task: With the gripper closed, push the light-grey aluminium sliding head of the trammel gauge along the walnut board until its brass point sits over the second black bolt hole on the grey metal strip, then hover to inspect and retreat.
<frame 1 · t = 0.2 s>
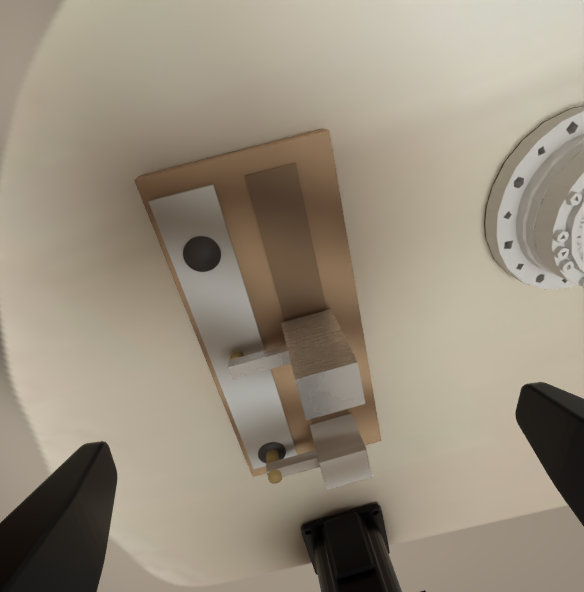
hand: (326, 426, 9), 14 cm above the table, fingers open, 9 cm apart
sliding head: (288, 368, 20), point 4 cm above the table, slide at 0.0 cm
mechanical component: (561, 199, 23), on the table
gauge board: (280, 326, 23), on the table
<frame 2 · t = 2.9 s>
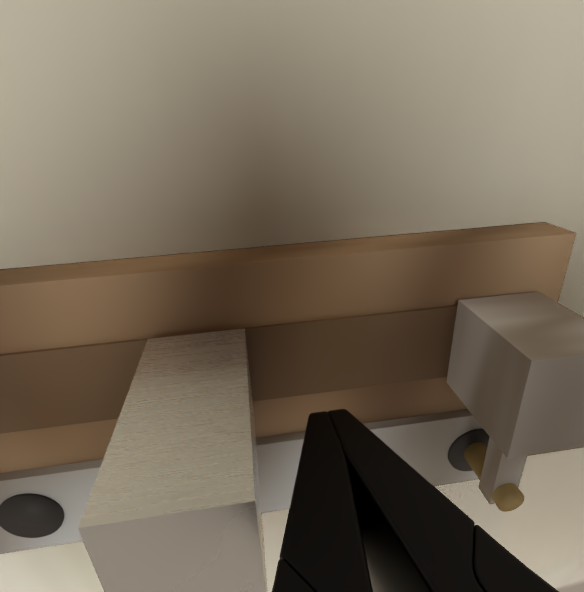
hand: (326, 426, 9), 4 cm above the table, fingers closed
sliding head: (207, 502, 9), point 4 cm above the table, slide at 0.3 cm, touching gripper
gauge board: (224, 385, 13), on the table
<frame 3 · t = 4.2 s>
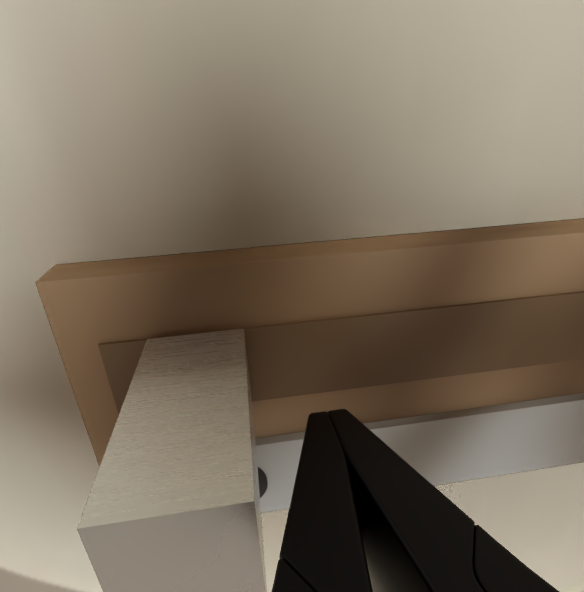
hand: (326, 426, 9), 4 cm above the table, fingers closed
sliding head: (207, 503, 9), point 4 cm above the table, slide at 6.5 cm, touching gripper
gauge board: (409, 363, 13), on the table
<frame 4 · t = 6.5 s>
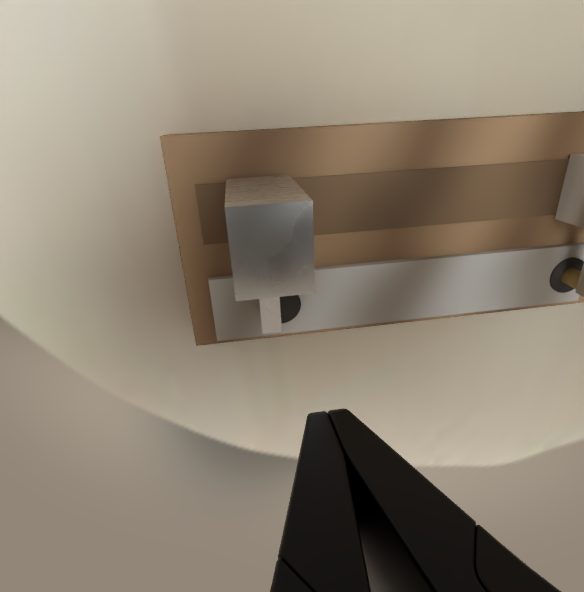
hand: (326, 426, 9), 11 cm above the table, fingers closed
sliding head: (268, 273, 14), point 4 cm above the table, slide at 6.6 cm
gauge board: (400, 226, 19), on the table
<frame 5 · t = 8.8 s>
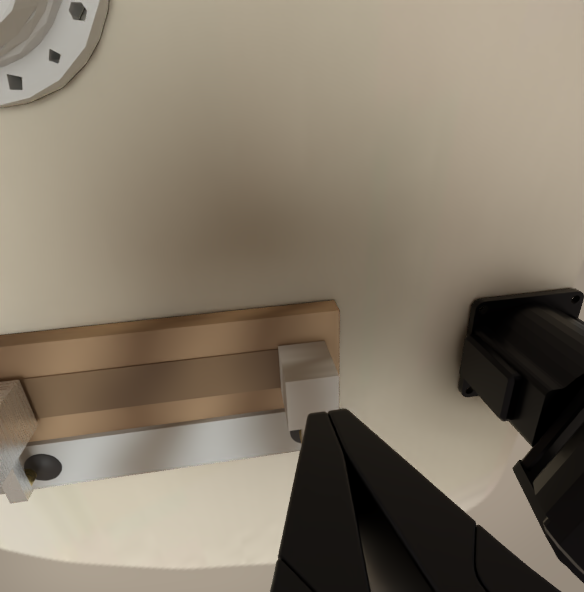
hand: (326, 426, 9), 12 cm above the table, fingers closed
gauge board: (155, 392, 22), on the table
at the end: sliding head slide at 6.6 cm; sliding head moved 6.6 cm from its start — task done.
